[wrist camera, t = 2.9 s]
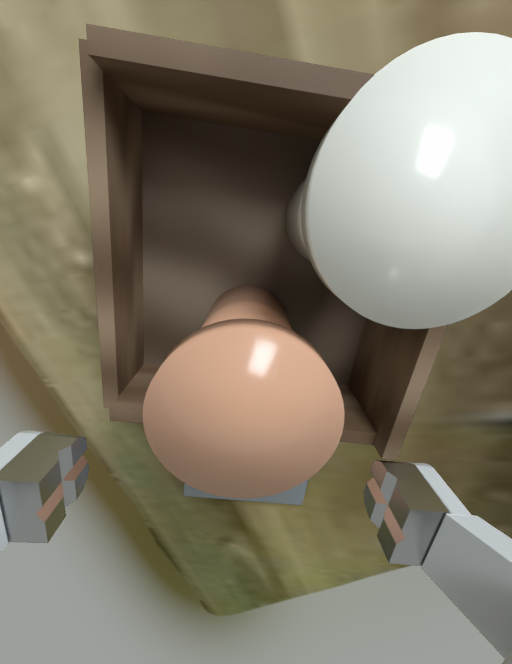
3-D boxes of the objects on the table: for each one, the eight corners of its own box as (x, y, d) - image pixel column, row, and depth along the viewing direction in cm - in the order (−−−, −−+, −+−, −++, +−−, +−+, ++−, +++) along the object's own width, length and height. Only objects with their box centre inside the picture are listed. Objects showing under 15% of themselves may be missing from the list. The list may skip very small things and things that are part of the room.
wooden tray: (129, 95, 14) (39, -5, 8) (424, 143, 15) (541, 86, 9) (135, 369, 20) (84, 432, 14) (353, 391, 21) (396, 459, 15)
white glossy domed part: (284, 146, 15) (344, 4, 5) (400, 164, 15) (639, 61, 6) (267, 267, 17) (289, 315, 8) (369, 280, 17) (507, 340, 8)
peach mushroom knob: (201, 268, 17) (141, 318, 8) (304, 282, 17) (367, 344, 8) (195, 362, 19) (143, 491, 10) (287, 372, 20) (321, 504, 10)
